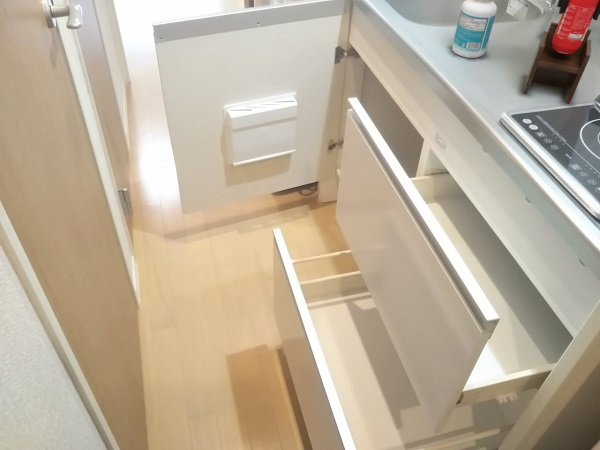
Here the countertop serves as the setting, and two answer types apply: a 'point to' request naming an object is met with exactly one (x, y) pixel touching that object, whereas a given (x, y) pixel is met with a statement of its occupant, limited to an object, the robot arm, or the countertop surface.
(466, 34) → the pill bottle
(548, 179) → the countertop surface
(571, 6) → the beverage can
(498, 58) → the countertop surface
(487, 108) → the countertop surface
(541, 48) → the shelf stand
